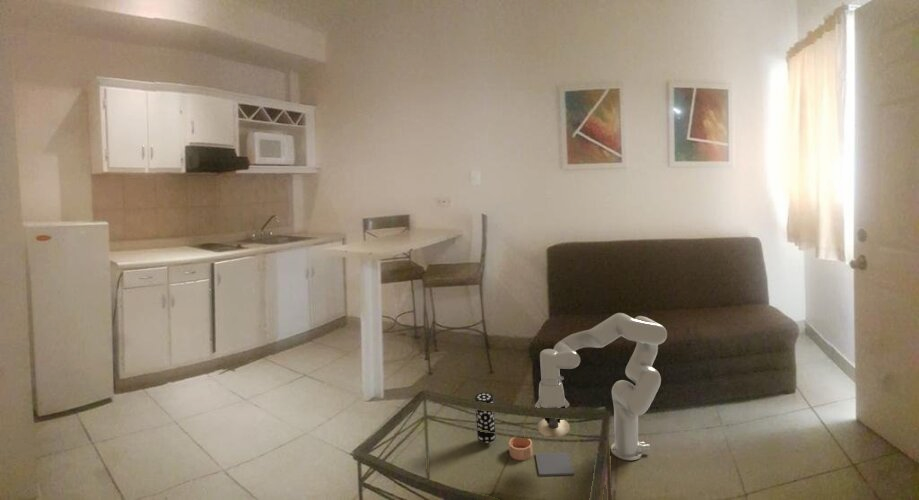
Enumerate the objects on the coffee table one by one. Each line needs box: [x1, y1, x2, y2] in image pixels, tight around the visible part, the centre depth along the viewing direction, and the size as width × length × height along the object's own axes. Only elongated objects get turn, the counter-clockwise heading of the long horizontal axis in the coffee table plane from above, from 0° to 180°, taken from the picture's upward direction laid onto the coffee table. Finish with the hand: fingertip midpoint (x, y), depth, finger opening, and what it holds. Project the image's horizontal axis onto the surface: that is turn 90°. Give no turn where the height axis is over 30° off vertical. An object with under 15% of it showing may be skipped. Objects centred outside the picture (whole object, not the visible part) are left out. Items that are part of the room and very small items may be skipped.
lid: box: [537, 418, 571, 438], centre depth 184 cm, size 13×13×8 cm
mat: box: [534, 451, 575, 477], centre depth 187 cm, size 14×14×1 cm
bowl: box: [508, 436, 534, 461], centre depth 196 cm, size 10×10×5 cm
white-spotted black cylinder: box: [474, 392, 497, 444], centre depth 203 cm, size 8×8×20 cm
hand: (553, 421), depth 184 cm, fingers closed on lid, 4 cm apart
